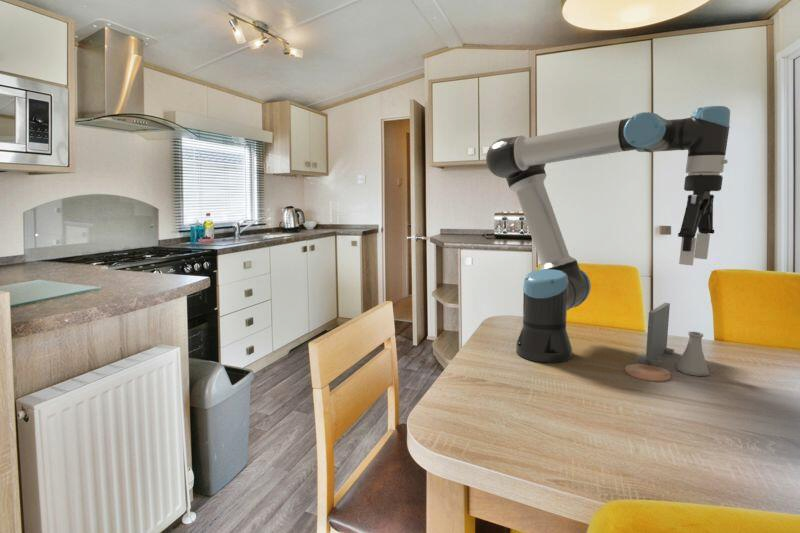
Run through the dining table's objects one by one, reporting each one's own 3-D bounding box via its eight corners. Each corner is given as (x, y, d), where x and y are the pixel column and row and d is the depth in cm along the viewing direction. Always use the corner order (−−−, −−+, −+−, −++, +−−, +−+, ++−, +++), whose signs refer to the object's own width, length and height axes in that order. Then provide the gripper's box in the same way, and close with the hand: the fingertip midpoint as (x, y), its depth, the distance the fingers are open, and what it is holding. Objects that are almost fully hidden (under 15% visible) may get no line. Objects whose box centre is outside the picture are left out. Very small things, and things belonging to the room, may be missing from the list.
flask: (715, 377, 108) (719, 338, 106) (682, 376, 109) (685, 337, 108) (701, 366, 115) (705, 329, 113) (671, 365, 116) (673, 328, 115)
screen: (637, 361, 119) (641, 310, 117) (654, 348, 129) (657, 301, 127) (658, 366, 116) (662, 314, 113) (673, 352, 125) (677, 304, 123)
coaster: (619, 373, 111) (619, 371, 111) (633, 363, 118) (633, 361, 118) (663, 385, 104) (664, 382, 104) (676, 373, 111) (676, 370, 111)
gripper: (710, 172, 96) (698, 269, 99) (733, 175, 113) (722, 257, 116) (670, 173, 101) (660, 265, 105) (699, 175, 118) (689, 254, 122)
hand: (693, 261), depth 110 cm, fingers open, 13 cm apart
